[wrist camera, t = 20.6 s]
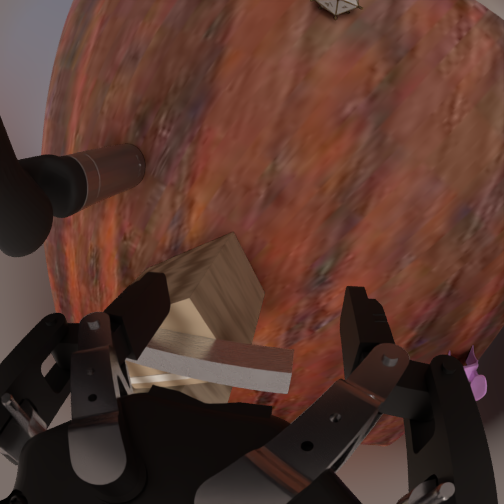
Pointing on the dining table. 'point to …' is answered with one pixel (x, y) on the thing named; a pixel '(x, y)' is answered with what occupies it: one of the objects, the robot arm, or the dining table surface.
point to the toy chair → (475, 376)
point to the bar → (219, 361)
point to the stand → (205, 309)
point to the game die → (338, 6)
